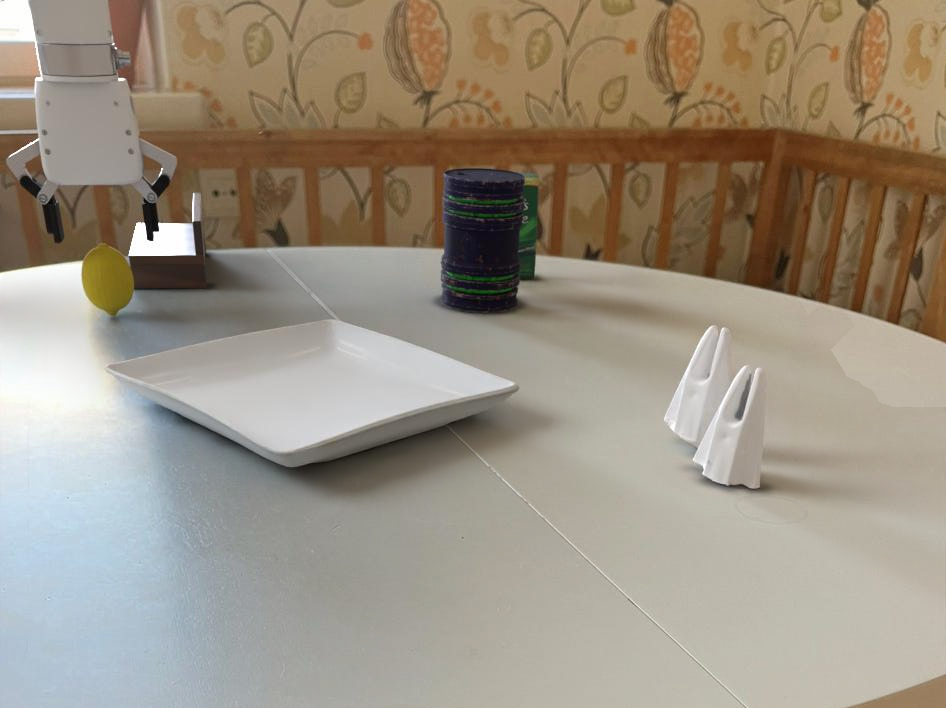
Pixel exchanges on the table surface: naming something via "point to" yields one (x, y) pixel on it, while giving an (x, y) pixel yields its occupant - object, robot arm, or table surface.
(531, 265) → the coffee box
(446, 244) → the navy striped canister
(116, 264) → the lemon
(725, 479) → the shaker set
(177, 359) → the square plate
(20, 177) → the robot arm
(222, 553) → the table surface
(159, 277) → the block with corner post
